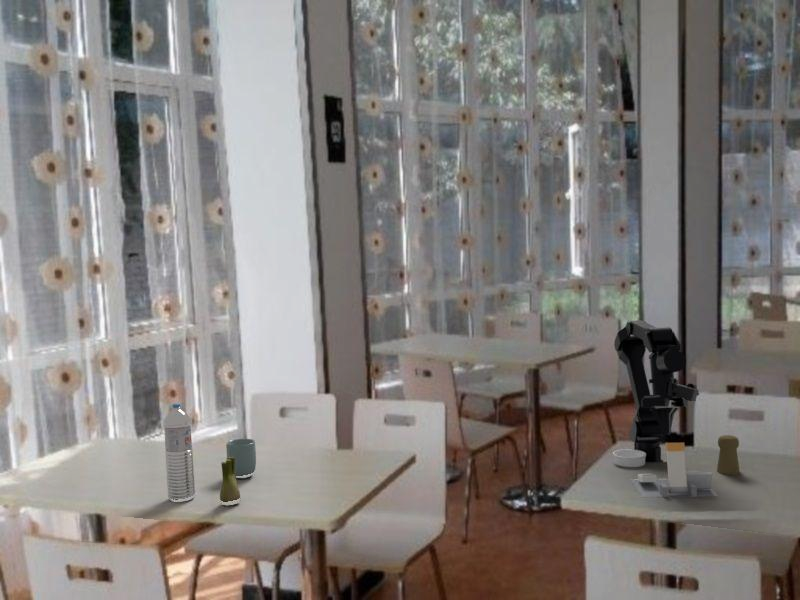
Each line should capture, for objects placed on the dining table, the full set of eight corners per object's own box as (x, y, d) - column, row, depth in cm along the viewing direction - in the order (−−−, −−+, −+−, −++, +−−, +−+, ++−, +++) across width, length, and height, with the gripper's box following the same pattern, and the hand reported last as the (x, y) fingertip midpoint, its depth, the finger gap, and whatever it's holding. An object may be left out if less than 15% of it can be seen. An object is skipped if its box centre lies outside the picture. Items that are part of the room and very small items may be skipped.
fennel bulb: (226, 509, 219) (224, 462, 217) (214, 505, 222) (212, 459, 221) (245, 503, 223) (243, 457, 222) (233, 499, 226) (231, 454, 225)
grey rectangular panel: (684, 487, 218) (685, 471, 216) (709, 486, 217) (710, 471, 215) (685, 490, 216) (687, 475, 214) (710, 490, 216) (712, 474, 214)
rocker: (638, 480, 225) (637, 473, 225) (652, 480, 225) (652, 473, 225) (642, 482, 220) (641, 475, 220) (656, 481, 220) (656, 474, 220)
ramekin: (610, 471, 240) (610, 456, 239) (615, 463, 248) (615, 447, 248) (644, 474, 236) (644, 458, 236) (647, 465, 245) (647, 450, 244)
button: (682, 479, 224) (682, 470, 223) (697, 479, 223) (697, 470, 223) (686, 484, 220) (686, 474, 220) (701, 484, 220) (701, 474, 219)
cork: (742, 480, 228) (742, 439, 227) (717, 480, 229) (717, 438, 228) (738, 474, 234) (738, 433, 233) (714, 473, 235) (714, 432, 234)
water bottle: (181, 504, 223) (175, 407, 221) (162, 501, 227) (156, 405, 225) (200, 497, 229) (195, 402, 227) (182, 493, 233) (176, 400, 230)
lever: (668, 493, 214) (664, 442, 216) (686, 493, 214) (683, 442, 216) (669, 493, 213) (666, 442, 215) (688, 493, 212) (684, 442, 214)
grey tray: (629, 484, 228) (629, 469, 227) (700, 483, 227) (700, 468, 226) (641, 503, 213) (641, 487, 212) (717, 502, 212) (718, 486, 211)
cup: (222, 480, 244) (220, 444, 243) (238, 472, 251) (236, 437, 250) (247, 482, 241) (245, 446, 240) (261, 474, 248) (260, 439, 247)
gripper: (681, 371, 220) (686, 434, 217) (704, 374, 235) (709, 433, 232) (638, 374, 226) (643, 436, 224) (663, 377, 241) (668, 434, 239)
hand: (667, 434), depth 229 cm, fingers closed
